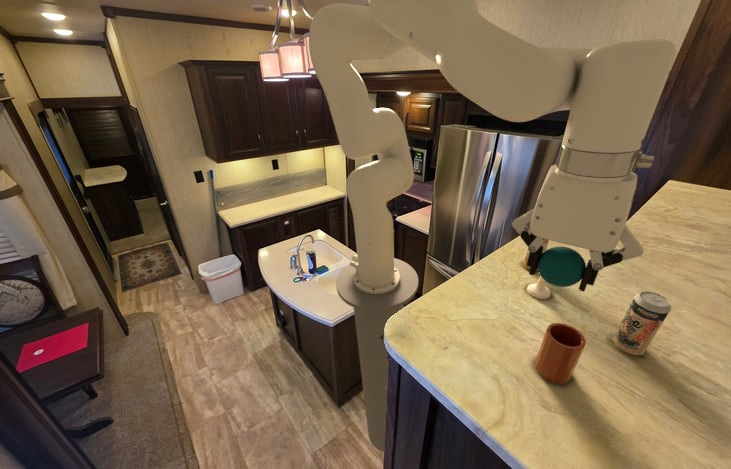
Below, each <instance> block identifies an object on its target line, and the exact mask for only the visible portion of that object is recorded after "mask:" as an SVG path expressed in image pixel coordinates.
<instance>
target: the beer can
mask: <svg viewBox="0 0 731 469" xmlns="http://www.w3.org/2000/svg"><path fill="white" fill-rule="evenodd" d="M671 311H672V305H671V302H670V300H669V299H668V298H667V297H665V296H663V295H661V294H659V293H657V292H652V291H650V290H649V291H647V290H646V291H641V292H639V293H637V294H636V295H634V296H633V299H632V301H631V303H630V306H629V307H628V309H627V311H626V312H625V315H624V317H623V319H622V320H621V323H620V324H619V326H618V329H617V330H616V332H615V334H614V336H612V341H613V343H614V345H615V346H616V348H618V349H619V350H621V351H622V352H625V353H627V354H630V355H633V356H642V355H644V354H645V353H646V350H647V349H648V347H649V346H650V344H651V343H652V341H653V339H654V337H655V336H656V334H657V333H658V331H659V330H660V328H661V326H662V325H663V323H664V321H665V320H666V318H667V316H668V315H669V313H671Z"/></svg>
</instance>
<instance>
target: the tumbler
mask: <svg viewBox="0 0 731 469" xmlns="http://www.w3.org/2000/svg"><path fill="white" fill-rule="evenodd" d="M586 344H587V340H586V337H585V336H584V335H583V334H582V333H581V331H580V330H578V329H577V328H575V327H573V326H572V325H569V324H566V323H561V322H554V323H550V324H549V325H548V326H547V327H546V330H545V333H544V337H543V339H542V342H541V345H540V347H539V351H538V353H537V356H536V359H535V362H534V365H535V369H536V371H537V373H538V374H539V375H540V377H542V378H543V379H544V380H546V381H548V382H550V383H552V384H556V385H564V384H566V383H568V382H569V381H570V379H571V378H572V376H573V373H574V371H575V369H576V366H577V365H578V362H579V360H580V358H581V356H582V353H583V351H584V349H585V347H586Z"/></svg>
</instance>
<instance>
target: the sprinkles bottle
mask: <svg viewBox="0 0 731 469" xmlns="http://www.w3.org/2000/svg"><path fill="white" fill-rule="evenodd" d="M549 242H550V240H546V241H545V242H544V243H543V244H542V245H543V248H544V249H543V252H545V251H546V250H548V245H549ZM529 253H530V251H529V250H528V246H527V245H526V249H525V253H524V254H525V255H524V259H523V262H522V266H523V267H524V269H527V270H529V271H530V267H529V266H527V262H528V258H529ZM537 271H538V269H537Z"/></svg>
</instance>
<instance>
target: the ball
mask: <svg viewBox="0 0 731 469" xmlns="http://www.w3.org/2000/svg"><path fill="white" fill-rule="evenodd" d="M586 266H587V263H586V262H585V259H584V257H583V256H582V255H581V254H580V253H579V252H578V251H576V250H575V249H573V248H571V247H568V246H553V247H549V248H547V249H546V251H545V252H543V253H542V254H541V256H540V258H539V261H538V264H537V267H538V270H537V271H538V274H539V275H540V276H541V277H542V278H543V279H544V280H545V283H548V284H550V285H552V286H554V287H561V288H565V287H566V288H567V287H572V286H574V285H576V284H578V283H579V282H581V280H582V278H583V275H584V273H585V270H586Z"/></svg>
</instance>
